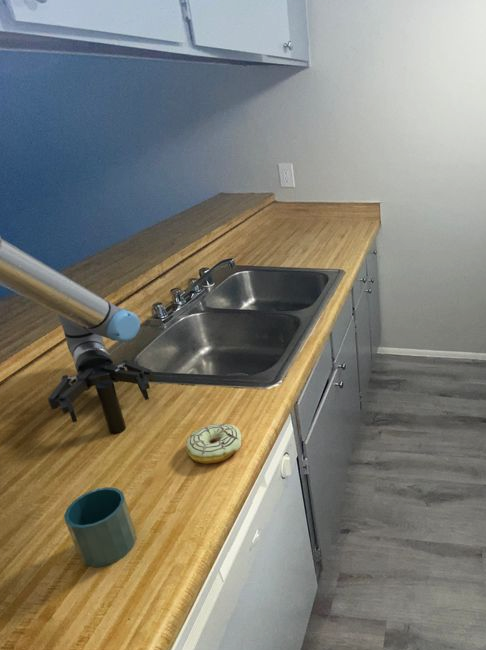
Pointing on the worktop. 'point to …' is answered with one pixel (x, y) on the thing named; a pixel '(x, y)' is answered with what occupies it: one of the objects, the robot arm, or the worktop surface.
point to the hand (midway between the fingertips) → (111, 405)
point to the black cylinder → (110, 406)
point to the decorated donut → (213, 443)
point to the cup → (100, 526)
